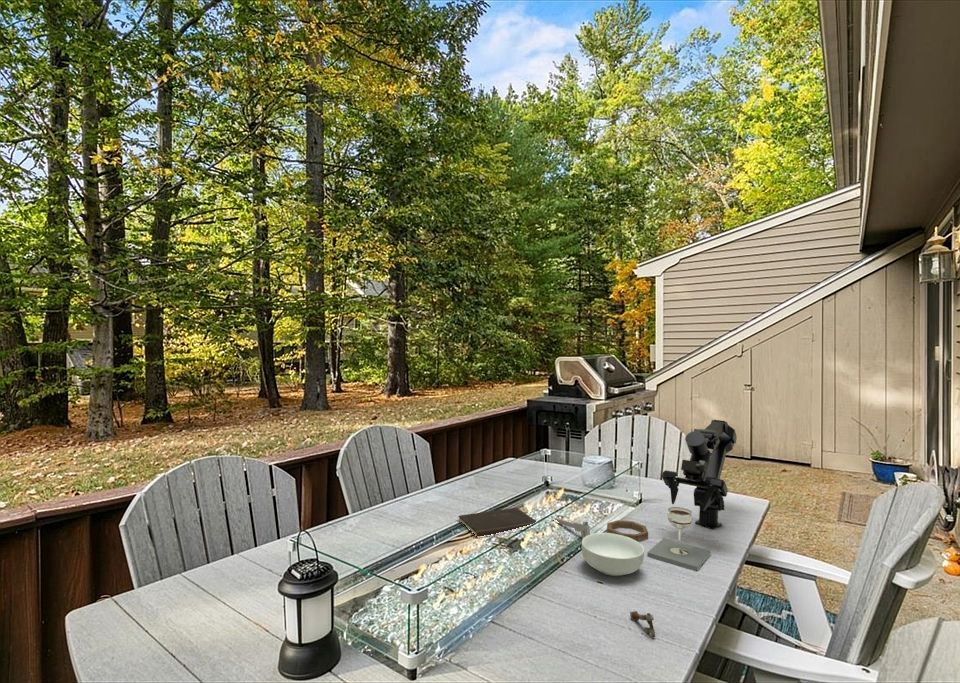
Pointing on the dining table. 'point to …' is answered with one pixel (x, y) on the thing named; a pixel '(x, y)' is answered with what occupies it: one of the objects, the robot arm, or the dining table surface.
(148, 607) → the dining table surface
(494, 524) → the hardcover book
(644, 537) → the ring holder
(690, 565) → the slate board
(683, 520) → the wineglass
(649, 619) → the wooden post with brackets
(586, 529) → the caliper
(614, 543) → the cereal bowl
